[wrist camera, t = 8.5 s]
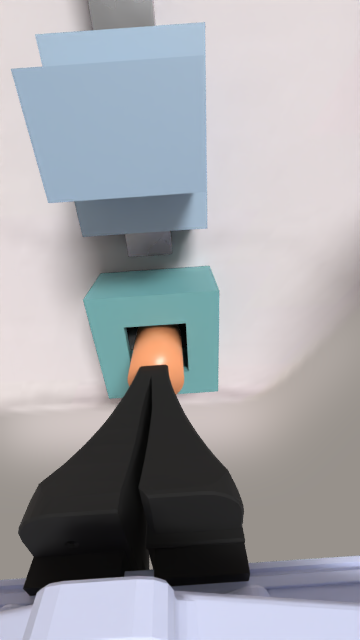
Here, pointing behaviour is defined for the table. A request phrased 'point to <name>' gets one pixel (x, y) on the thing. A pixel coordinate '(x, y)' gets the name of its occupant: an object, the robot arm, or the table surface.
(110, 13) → the rail
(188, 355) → the teal button housing
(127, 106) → the carriage
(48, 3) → the table surface
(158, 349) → the plunger
